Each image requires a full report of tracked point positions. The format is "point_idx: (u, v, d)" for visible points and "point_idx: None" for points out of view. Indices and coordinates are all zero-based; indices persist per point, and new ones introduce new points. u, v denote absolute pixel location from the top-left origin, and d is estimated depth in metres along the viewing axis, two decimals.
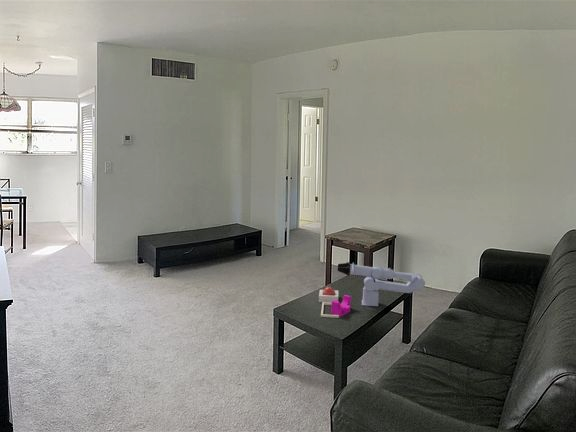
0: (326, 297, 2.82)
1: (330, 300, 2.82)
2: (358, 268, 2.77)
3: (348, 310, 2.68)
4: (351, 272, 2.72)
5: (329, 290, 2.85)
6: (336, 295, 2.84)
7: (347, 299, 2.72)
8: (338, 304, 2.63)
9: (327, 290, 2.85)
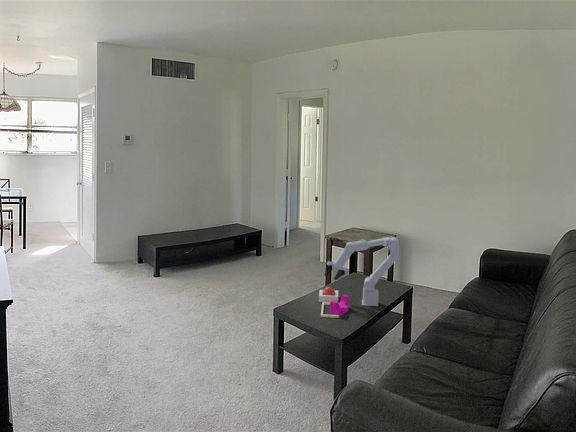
0: (326, 297, 2.82)
1: (330, 300, 2.82)
2: None
3: (346, 310, 2.68)
4: (327, 263, 2.79)
5: (329, 290, 2.85)
6: (336, 295, 2.84)
7: (345, 299, 2.72)
8: (337, 304, 2.63)
9: (327, 290, 2.85)
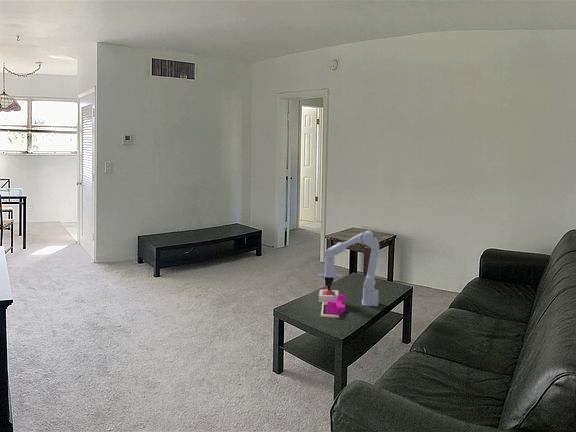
0: (326, 297, 2.82)
1: None
2: None
3: (343, 309, 2.69)
4: (317, 276, 2.87)
5: (329, 292, 2.85)
6: (336, 295, 2.84)
7: (342, 298, 2.73)
8: (334, 304, 2.63)
9: (327, 292, 2.85)
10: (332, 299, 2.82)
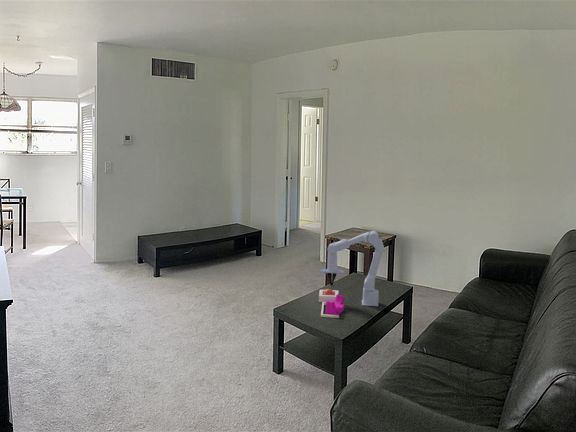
0: (326, 297, 2.82)
1: (330, 300, 2.82)
2: None
3: (342, 309, 2.69)
4: (320, 271, 2.84)
5: (329, 292, 2.85)
6: None
7: (340, 298, 2.73)
8: (333, 304, 2.63)
9: (327, 292, 2.85)
10: (332, 299, 2.82)
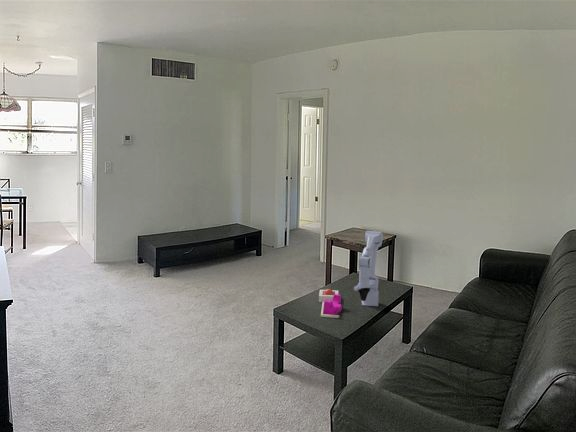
0: (326, 297, 2.82)
1: (330, 300, 2.82)
2: (359, 280, 2.64)
3: (340, 309, 2.69)
4: (354, 289, 2.61)
5: (329, 292, 2.85)
6: None
7: (337, 298, 2.74)
8: (331, 303, 2.63)
9: (327, 292, 2.85)
10: (332, 299, 2.82)
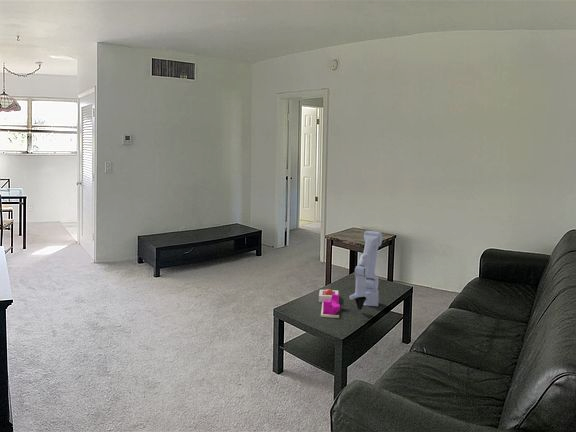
0: (326, 297, 2.82)
1: (330, 300, 2.82)
2: (355, 288, 2.66)
3: (338, 309, 2.69)
4: (350, 297, 2.62)
5: (329, 292, 2.85)
6: None
7: (336, 298, 2.74)
8: (330, 303, 2.63)
9: (327, 292, 2.85)
10: None
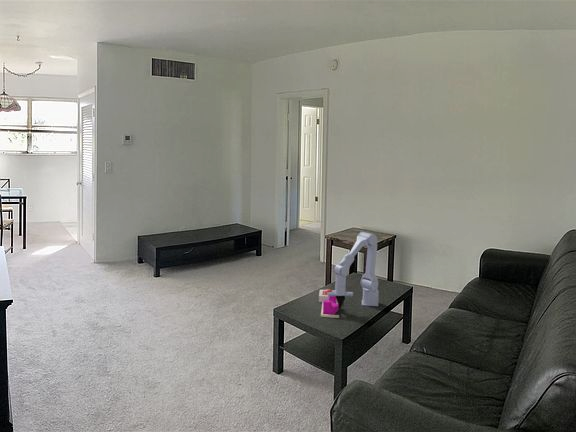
0: (326, 297, 2.82)
1: None
2: None
3: (337, 308, 2.70)
4: (327, 294, 2.67)
5: None
6: None
7: (334, 297, 2.74)
8: (330, 303, 2.63)
9: None
10: None
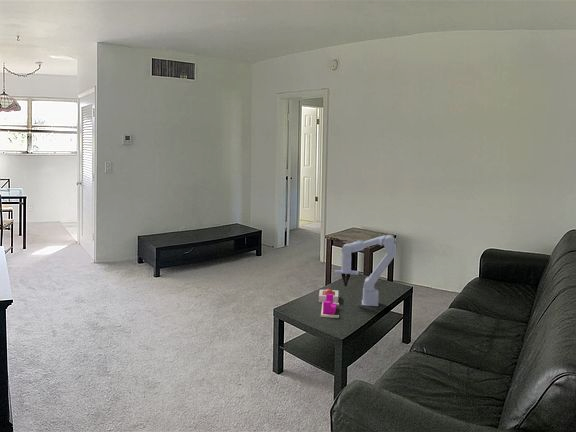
0: None
1: None
2: None
3: (335, 308, 2.70)
4: None
5: (329, 292, 2.85)
6: (336, 295, 2.84)
7: (331, 297, 2.74)
8: (330, 303, 2.63)
9: (327, 292, 2.85)
10: None
